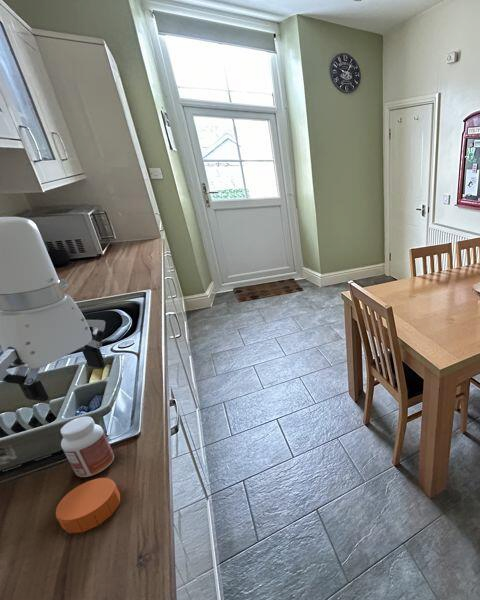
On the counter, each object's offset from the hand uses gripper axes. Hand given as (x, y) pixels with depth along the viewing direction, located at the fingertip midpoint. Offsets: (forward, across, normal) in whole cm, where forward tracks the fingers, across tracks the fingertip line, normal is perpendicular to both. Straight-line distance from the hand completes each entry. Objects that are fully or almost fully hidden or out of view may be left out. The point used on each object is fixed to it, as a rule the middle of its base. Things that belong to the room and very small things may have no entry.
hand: (70, 381), depth 60 cm
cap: (+21, +9, +7) cm, 24 cm away
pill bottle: (+21, +1, -2) cm, 21 cm away
